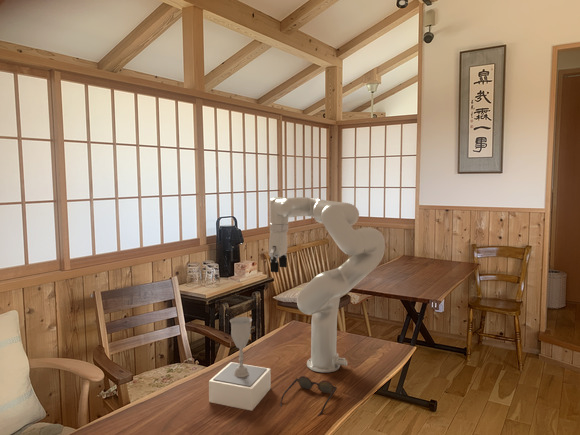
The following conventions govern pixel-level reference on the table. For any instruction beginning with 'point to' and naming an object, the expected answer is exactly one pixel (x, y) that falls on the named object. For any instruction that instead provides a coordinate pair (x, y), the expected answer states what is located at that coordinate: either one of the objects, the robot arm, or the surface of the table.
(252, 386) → the display plinth
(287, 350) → the table surface
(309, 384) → the eyeglasses
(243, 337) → the chalice
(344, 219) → the robot arm
